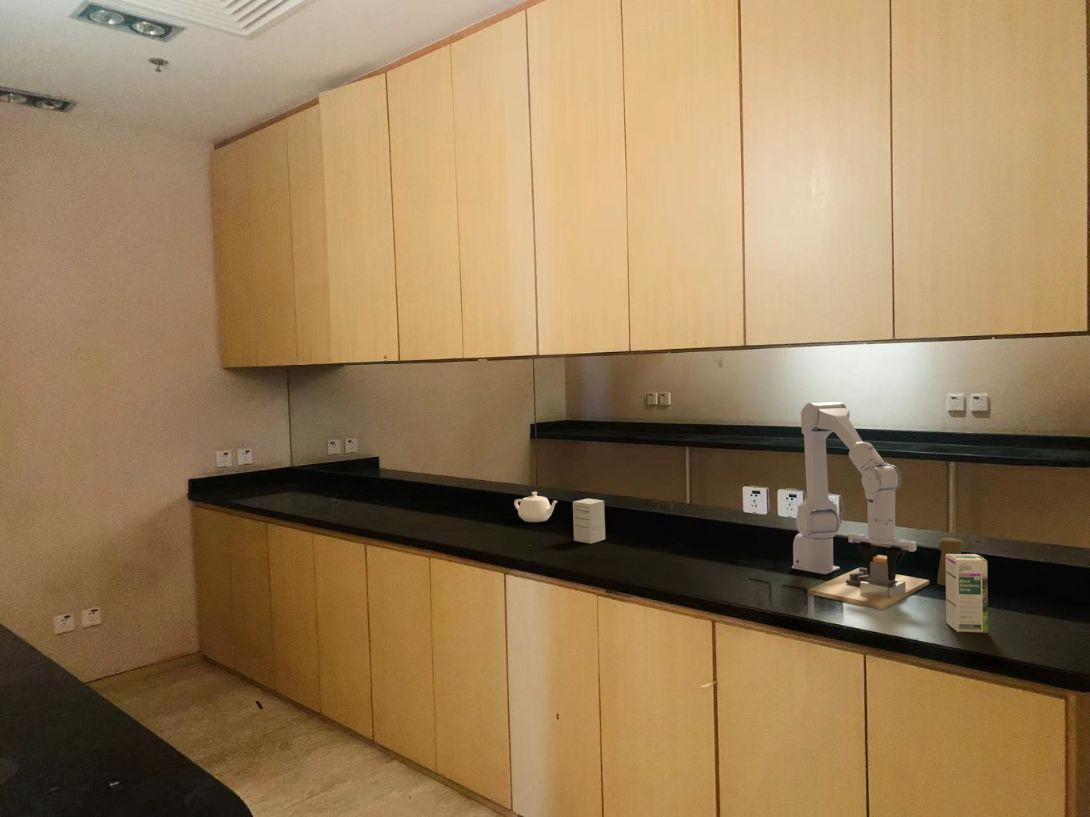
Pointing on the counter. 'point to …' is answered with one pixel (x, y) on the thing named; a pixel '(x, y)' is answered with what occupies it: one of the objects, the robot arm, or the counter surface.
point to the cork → (947, 548)
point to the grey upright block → (879, 571)
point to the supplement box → (589, 520)
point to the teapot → (534, 508)
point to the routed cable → (853, 582)
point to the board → (852, 594)
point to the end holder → (883, 589)
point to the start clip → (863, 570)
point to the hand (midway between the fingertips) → (881, 577)
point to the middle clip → (859, 576)
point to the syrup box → (966, 592)
